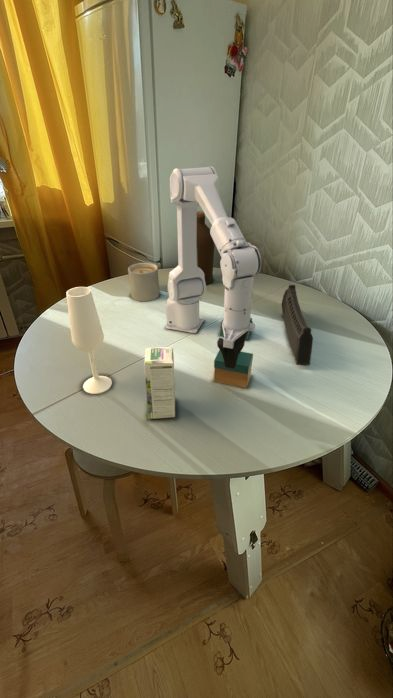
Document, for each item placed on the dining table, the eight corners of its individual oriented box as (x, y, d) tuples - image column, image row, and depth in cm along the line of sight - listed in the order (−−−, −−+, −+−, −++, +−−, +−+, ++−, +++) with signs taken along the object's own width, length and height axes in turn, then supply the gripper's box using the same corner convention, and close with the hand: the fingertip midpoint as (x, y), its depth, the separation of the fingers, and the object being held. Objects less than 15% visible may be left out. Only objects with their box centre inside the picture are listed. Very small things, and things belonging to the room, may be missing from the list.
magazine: (317, 344, 81) (301, 264, 100) (303, 344, 82) (290, 263, 100) (302, 385, 95) (290, 307, 114) (290, 385, 95) (280, 307, 114)
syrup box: (149, 401, 79) (143, 347, 71) (175, 399, 79) (173, 346, 71) (148, 419, 74) (142, 364, 66) (176, 417, 75) (173, 362, 66)
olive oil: (203, 272, 142) (203, 207, 128) (219, 281, 134) (221, 213, 120) (180, 279, 137) (178, 211, 123) (196, 288, 129) (196, 217, 115)
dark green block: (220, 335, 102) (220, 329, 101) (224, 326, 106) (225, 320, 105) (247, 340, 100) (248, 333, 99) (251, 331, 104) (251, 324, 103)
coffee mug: (159, 300, 121) (157, 272, 115) (130, 302, 120) (127, 274, 115) (159, 284, 132) (157, 258, 126) (132, 286, 131) (129, 259, 126)
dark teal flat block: (213, 367, 82) (214, 360, 81) (220, 355, 86) (220, 347, 85) (247, 374, 80) (248, 366, 79) (252, 361, 84) (253, 353, 83)
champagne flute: (87, 375, 87) (67, 284, 73) (114, 375, 87) (99, 285, 73) (79, 393, 81) (55, 298, 68) (108, 394, 81) (90, 299, 68)
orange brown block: (214, 374, 83) (214, 366, 82) (219, 363, 87) (219, 356, 86) (247, 380, 81) (248, 373, 80) (251, 369, 85) (252, 362, 84)
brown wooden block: (213, 381, 85) (214, 374, 83) (218, 370, 88) (219, 363, 87) (246, 388, 83) (247, 380, 81) (250, 376, 86) (251, 369, 85)
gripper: (249, 324, 68) (244, 379, 75) (262, 293, 79) (256, 344, 87) (214, 318, 69) (212, 373, 77) (231, 289, 81) (228, 339, 88)
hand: (234, 357), depth 82 cm, fingers open, 7 cm apart
